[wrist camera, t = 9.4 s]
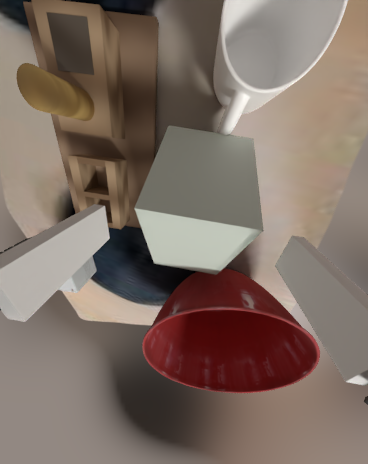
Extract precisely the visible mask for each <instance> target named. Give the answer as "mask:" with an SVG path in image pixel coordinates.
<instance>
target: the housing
mask: <svg viewBox="0 0 368 464" xmlns="http://www.w3.org/2000/svg"><path fill="white" fill-rule="evenodd" d="M134 209H135V211H136V214H137V217H138V220H139V222H140V225H141V228H142V231H143V234H144V236H145V239H146V242H147V245H148V248H149V250H150V253H151V256H152V259H153V261H154V264H160V265H165V266H171V267H176V268H182V269H187V270H193V271H198V272H204V273H209V274H215V275H217V274H218V273H219V272H220V271H221V270H222V269H223V268H224V267H225V266H226V265H227V264H228V263H229V262H231V261H232V260H233V259H234V258H235V257H236V256H237V255H238V254H239V253H240V252H241V251H242V250H243V249H244V248H245V247H246V246H247V245H249V244H250V243H251V242H252V241H253V240H254V239H255V238H256V237H257V236H258V235H259V234H260V233H261V232H262V231H263V223H262V214H261V205H260V196H259V187H258V177H257V168H256V159H255V150H254V141H253V139H252V138H246V137H239V136H233V135H223V134H220V133H214V132H208V131H202V130H195V129H189V128H183V127H176V126H170V125H169V126H168V128H167V131H166V133H165V135H164V138H163V140H162V143H161V145H160V147H159V150H158V152H157V155H156V157H155V160H154V162H153V164H152V167H151V169H150V172H149V174H148V176H147V179H146V181H145V184H144V186H143V189H142V191H141V193H140V196H139V198H138V201H137V203H136V205H135V208H134Z"/></svg>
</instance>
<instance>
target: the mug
mask: <svg viewBox="0 0 368 464" xmlns="http://www.w3.org/2000/svg"><path fill="white" fill-rule="evenodd" d="M347 1H348V0H224V3H223V8H222V14H221V21H220V28H219V35H218V42H217V49H216V57H215V64H214V72H213V83H214V90H215V94H216V96H217V99H218V101H219V102H220V104H221V105H222V106H223V107H224V108H225V111H224V114H223V117H222V119H221V122H220V125H219V128H218V132H217V133H220V134H223V135H230V134H231V132H232V131H233V129H234V127H235V125H236V124H237V122H238V120H239V118H240V116H241V114H247V113H250V112H252V111H255V110H256V109H258V108H260V107H261V106H263V105H264V104H265V103H267V102H268V101H270V100H271V99H272V98H274V97H275V96H277V95H278V94H280V93H281V92H282V91H284V90H285V89H287V88H288V87H289V86H291V85H292V84H294V83H295V82H296V81H298V80H299V79H300V78H302V77H303V76H304V75H305V74H306V73H307V72H308V71H309V70H310V69H311V68H312V67H313V66H314V65H315V64H316V63H317V61H318V60H319V59H320V57H321V56H322V55H323V53H324V52H325V50H326V49H327V47H328V46H329V44H330V42H331V40H332V39H333V37H334V35H335V33H336V31H337V29H338V27H339V24H340V22H341V19H342V17H343V14H344V11H345V8H346V5H347Z"/></svg>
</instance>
